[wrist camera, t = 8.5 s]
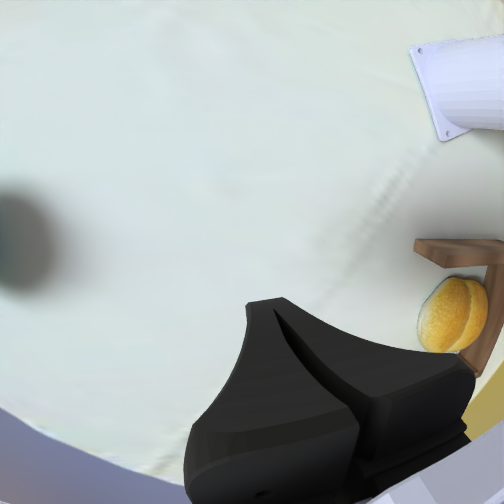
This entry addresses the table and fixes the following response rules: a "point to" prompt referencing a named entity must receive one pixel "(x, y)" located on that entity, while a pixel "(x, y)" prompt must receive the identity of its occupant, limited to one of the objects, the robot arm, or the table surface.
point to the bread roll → (452, 316)
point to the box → (495, 284)
